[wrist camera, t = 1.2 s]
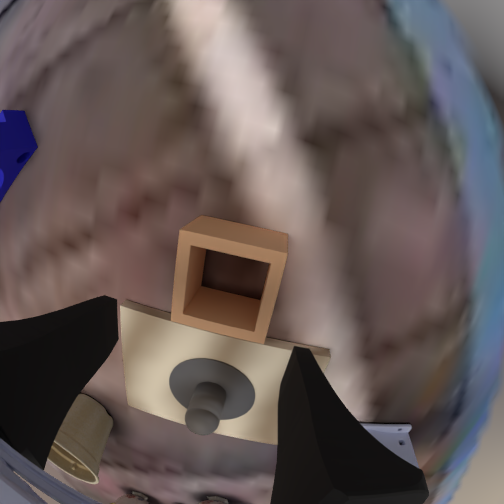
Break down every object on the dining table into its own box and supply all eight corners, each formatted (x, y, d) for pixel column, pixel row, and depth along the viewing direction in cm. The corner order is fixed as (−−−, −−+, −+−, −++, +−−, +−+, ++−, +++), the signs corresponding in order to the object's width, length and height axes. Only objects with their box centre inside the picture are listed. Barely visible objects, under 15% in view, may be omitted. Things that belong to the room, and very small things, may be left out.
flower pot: (116, 396, 25) (80, 454, 17) (133, 443, 28) (108, 493, 20) (53, 371, 26) (13, 415, 18) (75, 420, 29) (46, 461, 21)
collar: (287, 234, 18) (287, 253, 14) (268, 310, 20) (263, 344, 16) (201, 215, 18) (179, 229, 15) (190, 292, 20) (170, 320, 16)
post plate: (329, 349, 20) (338, 401, 15) (286, 438, 24) (284, 483, 19) (126, 299, 21) (88, 336, 16) (131, 398, 25) (109, 436, 20)
